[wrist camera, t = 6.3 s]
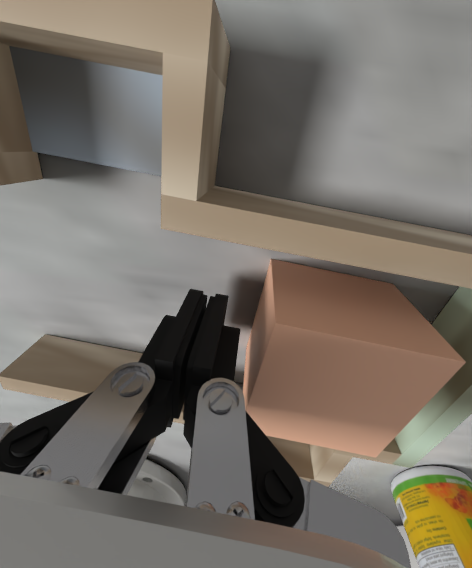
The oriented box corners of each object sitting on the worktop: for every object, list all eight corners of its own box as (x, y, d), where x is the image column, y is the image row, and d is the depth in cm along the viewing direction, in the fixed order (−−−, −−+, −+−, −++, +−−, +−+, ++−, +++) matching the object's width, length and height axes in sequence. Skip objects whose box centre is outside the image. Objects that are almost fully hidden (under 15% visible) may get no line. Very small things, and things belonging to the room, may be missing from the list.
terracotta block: (343, 367, 14) (375, 457, 10) (246, 348, 14) (239, 430, 10) (393, 283, 11) (466, 361, 7) (271, 258, 11) (275, 323, 7)
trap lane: (358, 445, 17) (375, 500, 14) (61, 388, 17) (24, 432, 14) (617, 122, 7) (806, 110, 5) (-59, -8, 7) (-232, -91, 5)
